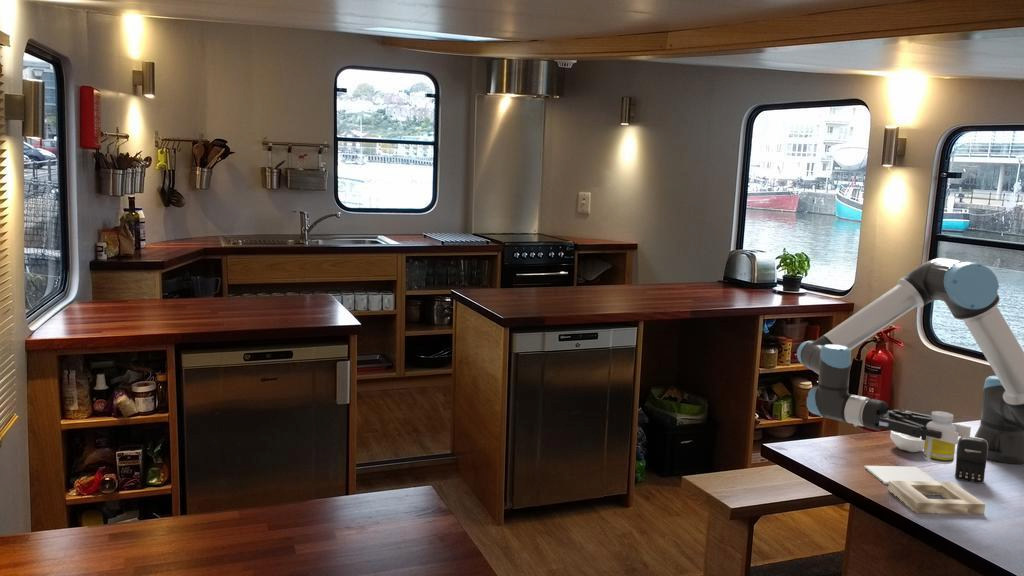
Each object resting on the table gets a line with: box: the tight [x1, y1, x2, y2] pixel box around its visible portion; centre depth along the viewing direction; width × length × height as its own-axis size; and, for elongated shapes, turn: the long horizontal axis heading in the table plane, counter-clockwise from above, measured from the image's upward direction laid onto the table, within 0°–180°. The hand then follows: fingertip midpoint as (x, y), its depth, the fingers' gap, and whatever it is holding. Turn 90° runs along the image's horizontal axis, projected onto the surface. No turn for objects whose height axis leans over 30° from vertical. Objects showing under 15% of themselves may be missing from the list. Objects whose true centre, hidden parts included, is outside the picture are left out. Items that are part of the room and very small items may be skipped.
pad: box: [863, 465, 938, 485], centre depth 212 cm, size 14×12×1 cm
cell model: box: [889, 430, 925, 453], centre depth 234 cm, size 10×12×7 cm
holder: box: [887, 481, 986, 515], centre depth 195 cm, size 16×14×2 cm
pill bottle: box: [923, 410, 956, 465], centre depth 193 cm, size 6×6×12 cm
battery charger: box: [954, 436, 988, 484], centre depth 209 cm, size 7×4×11 cm, turn 61°
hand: (963, 435), depth 189 cm, fingers closed on pill bottle, 6 cm apart
